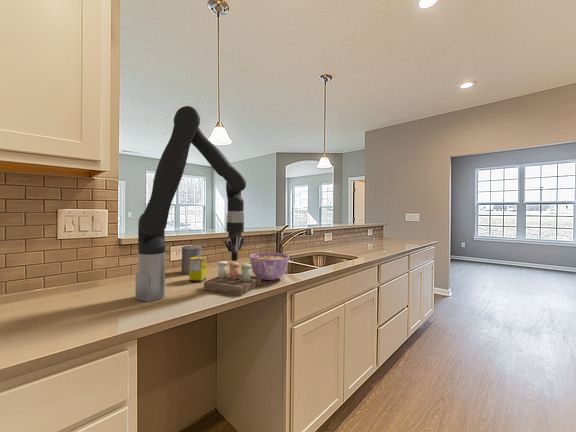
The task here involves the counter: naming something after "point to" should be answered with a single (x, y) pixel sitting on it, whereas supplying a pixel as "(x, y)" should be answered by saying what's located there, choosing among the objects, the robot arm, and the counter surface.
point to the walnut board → (232, 285)
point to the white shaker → (222, 269)
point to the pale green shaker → (246, 272)
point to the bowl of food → (269, 265)
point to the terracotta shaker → (234, 270)
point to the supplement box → (197, 269)
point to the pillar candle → (189, 256)
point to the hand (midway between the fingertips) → (234, 260)
